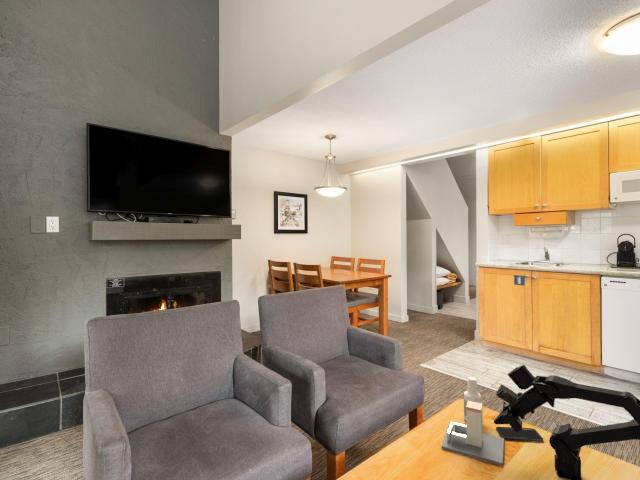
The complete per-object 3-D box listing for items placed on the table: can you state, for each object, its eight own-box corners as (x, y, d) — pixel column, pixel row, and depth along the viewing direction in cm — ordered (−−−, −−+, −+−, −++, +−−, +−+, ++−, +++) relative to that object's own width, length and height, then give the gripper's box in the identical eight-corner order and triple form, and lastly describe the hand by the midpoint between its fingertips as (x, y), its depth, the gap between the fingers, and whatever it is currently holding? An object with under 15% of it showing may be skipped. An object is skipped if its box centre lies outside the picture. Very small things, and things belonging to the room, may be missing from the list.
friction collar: (468, 434, 133) (468, 425, 133) (466, 446, 126) (466, 437, 126) (451, 430, 137) (450, 421, 137) (447, 441, 129) (447, 432, 129)
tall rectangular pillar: (482, 440, 129) (482, 403, 129) (481, 447, 125) (481, 410, 125) (468, 436, 132) (467, 400, 132) (466, 443, 127) (466, 406, 127)
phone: (494, 426, 139) (534, 428, 137) (495, 429, 139) (534, 431, 137) (502, 438, 131) (544, 440, 129) (502, 441, 131) (544, 443, 129)
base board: (503, 440, 131) (503, 438, 131) (502, 466, 117) (502, 463, 117) (448, 426, 141) (448, 424, 141) (441, 448, 127) (441, 446, 127)
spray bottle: (468, 414, 150) (468, 373, 150) (484, 420, 145) (484, 378, 144) (461, 419, 146) (460, 378, 145) (476, 426, 140) (476, 383, 140)
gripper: (512, 371, 130) (480, 393, 136) (510, 391, 114) (474, 415, 120) (536, 396, 126) (502, 417, 132) (538, 421, 110) (499, 444, 116)
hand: (494, 422), depth 125 cm, fingers closed
